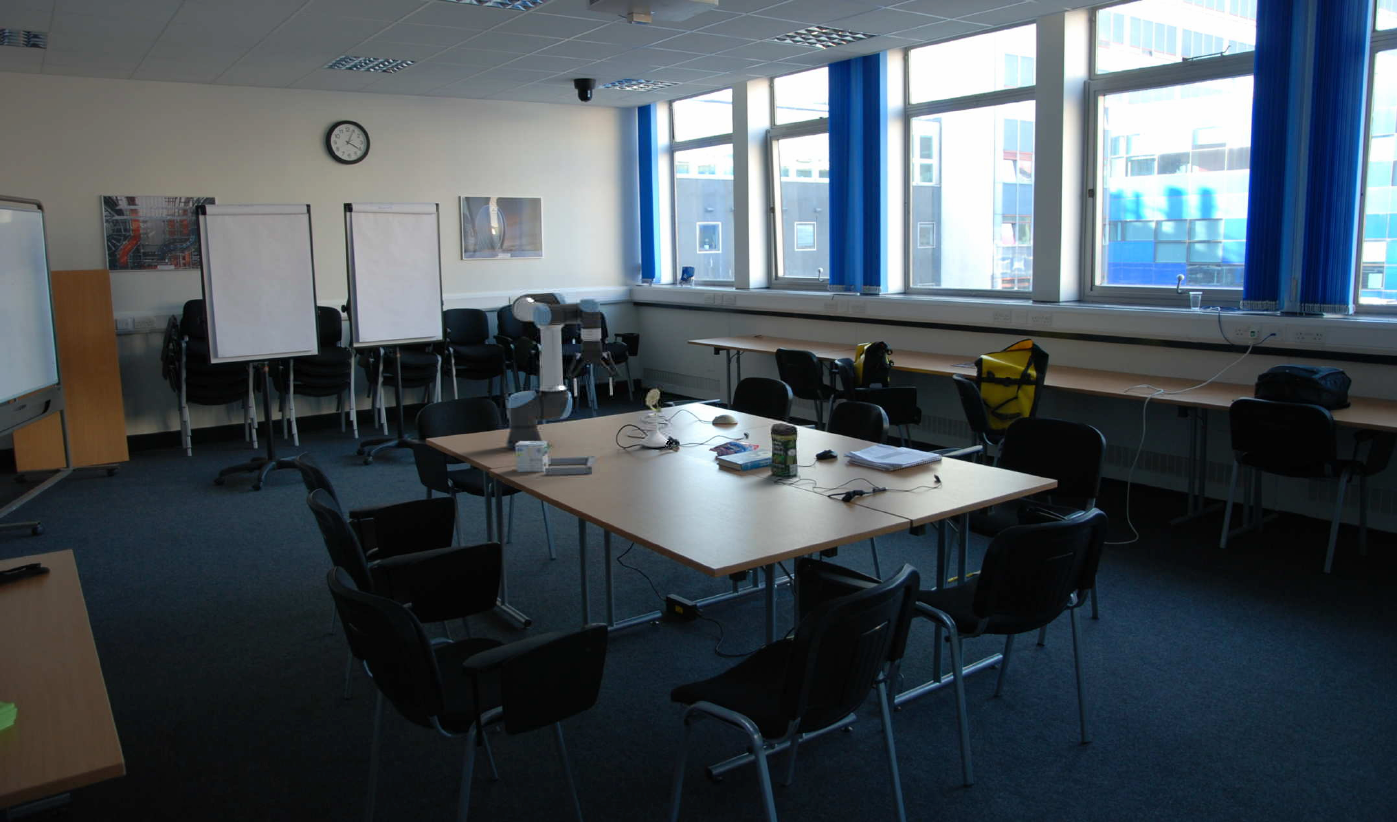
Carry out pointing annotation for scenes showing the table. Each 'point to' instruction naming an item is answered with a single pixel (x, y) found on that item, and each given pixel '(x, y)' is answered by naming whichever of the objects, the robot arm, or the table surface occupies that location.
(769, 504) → the table surface
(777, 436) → the coffee jar
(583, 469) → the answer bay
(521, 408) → the robot arm
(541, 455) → the light bulb box
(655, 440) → the flower in vase
